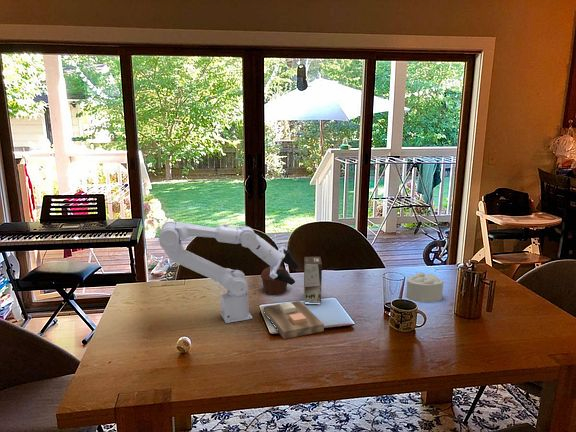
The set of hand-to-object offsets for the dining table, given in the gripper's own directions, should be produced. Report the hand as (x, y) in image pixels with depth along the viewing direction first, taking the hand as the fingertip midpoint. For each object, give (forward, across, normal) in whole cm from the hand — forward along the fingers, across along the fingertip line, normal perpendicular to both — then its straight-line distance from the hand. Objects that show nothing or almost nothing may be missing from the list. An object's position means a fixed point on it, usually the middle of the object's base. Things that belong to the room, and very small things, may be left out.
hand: (295, 275), depth 159 cm
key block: (+7, -13, +6) cm, 16 cm away
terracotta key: (+7, -16, +2) cm, 17 cm away
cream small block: (+6, -9, +8) cm, 13 cm away
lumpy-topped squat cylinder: (+48, +16, -18) cm, 53 cm away
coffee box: (+16, +4, +9) cm, 19 cm away
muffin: (+6, +10, +22) cm, 25 cm away
